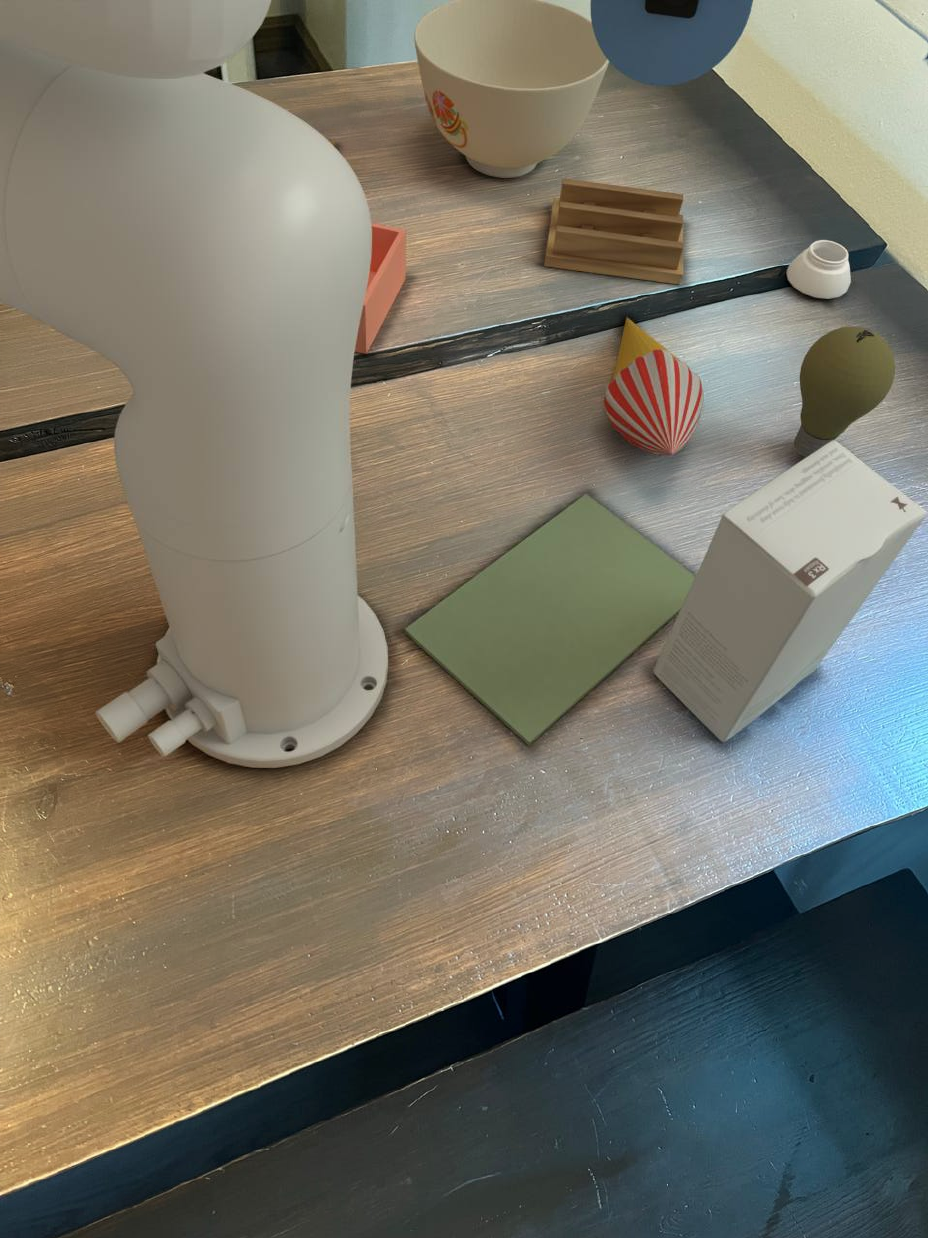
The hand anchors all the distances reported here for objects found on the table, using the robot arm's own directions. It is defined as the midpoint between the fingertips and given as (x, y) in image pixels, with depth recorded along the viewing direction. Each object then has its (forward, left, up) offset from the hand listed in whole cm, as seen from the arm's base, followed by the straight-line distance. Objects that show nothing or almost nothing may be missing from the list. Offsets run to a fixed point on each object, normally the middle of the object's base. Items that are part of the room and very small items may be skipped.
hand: (669, 4), depth 61 cm
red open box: (-22, +16, -20) cm, 33 cm away
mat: (-28, -19, -20) cm, 39 cm away
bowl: (+5, +18, -20) cm, 27 cm away
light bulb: (-5, -22, -20) cm, 30 cm away
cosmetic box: (-24, -29, -20) cm, 43 cm away
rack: (+3, +3, -20) cm, 20 cm away
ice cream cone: (-10, -11, -20) cm, 25 cm away
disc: (0, 0, 0) cm, 0 cm away
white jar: (+12, -11, -20) cm, 26 cm away
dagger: (-10, +26, -20) cm, 34 cm away
